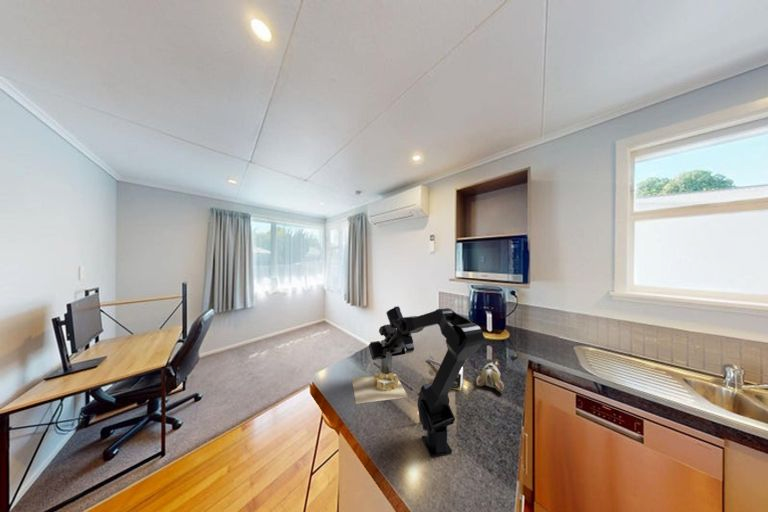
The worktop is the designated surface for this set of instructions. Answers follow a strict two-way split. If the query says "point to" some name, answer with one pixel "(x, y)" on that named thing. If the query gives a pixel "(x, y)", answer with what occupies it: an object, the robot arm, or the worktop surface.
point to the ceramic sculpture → (490, 377)
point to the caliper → (434, 362)
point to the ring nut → (387, 385)
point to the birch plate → (375, 390)
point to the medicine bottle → (458, 381)
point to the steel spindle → (386, 362)
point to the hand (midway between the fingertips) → (384, 356)
